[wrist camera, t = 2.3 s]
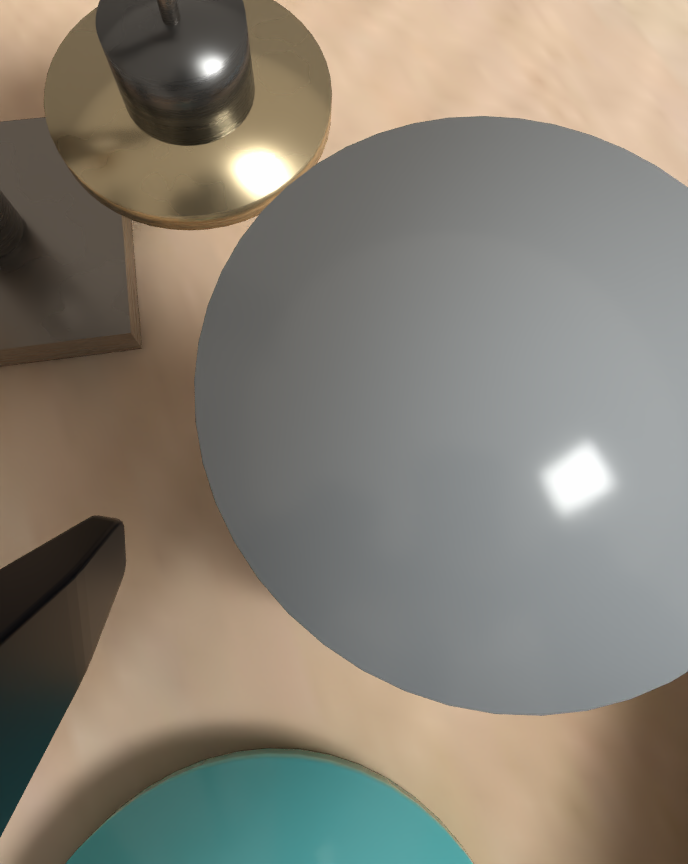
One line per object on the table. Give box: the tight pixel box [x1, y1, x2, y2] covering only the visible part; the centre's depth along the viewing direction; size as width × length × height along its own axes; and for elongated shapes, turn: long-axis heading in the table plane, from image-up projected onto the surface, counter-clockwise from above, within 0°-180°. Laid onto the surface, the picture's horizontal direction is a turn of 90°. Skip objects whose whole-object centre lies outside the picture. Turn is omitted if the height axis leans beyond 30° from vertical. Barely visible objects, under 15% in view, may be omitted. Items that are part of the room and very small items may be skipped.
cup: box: [194, 116, 688, 716], centre depth 12 cm, size 6×6×13 cm
